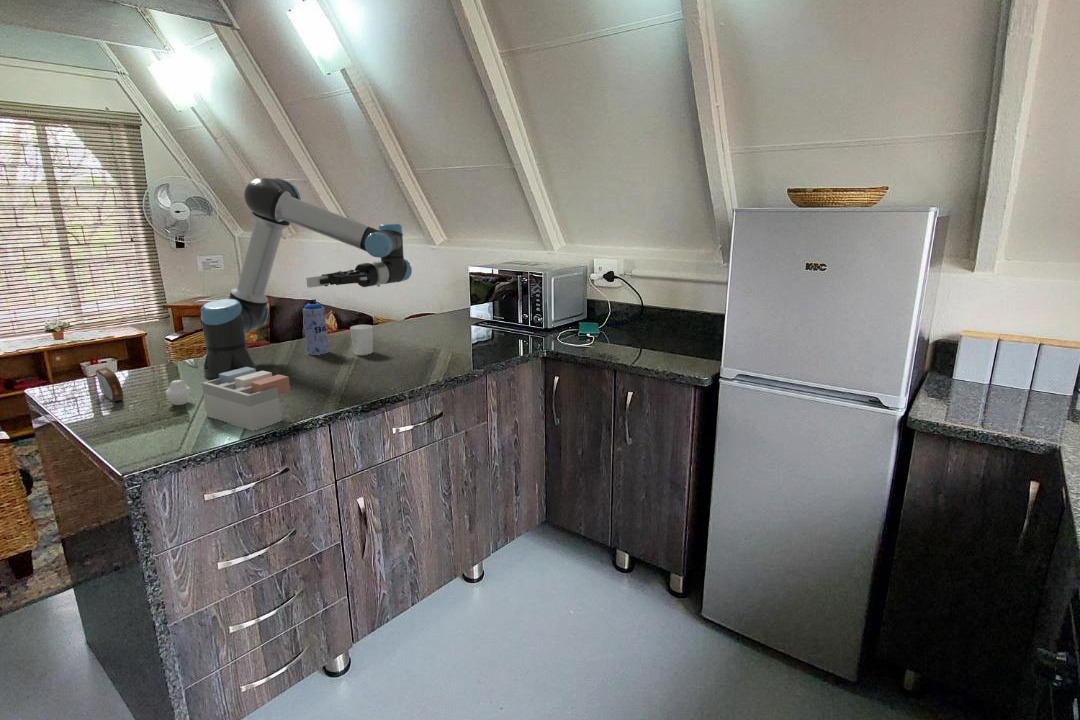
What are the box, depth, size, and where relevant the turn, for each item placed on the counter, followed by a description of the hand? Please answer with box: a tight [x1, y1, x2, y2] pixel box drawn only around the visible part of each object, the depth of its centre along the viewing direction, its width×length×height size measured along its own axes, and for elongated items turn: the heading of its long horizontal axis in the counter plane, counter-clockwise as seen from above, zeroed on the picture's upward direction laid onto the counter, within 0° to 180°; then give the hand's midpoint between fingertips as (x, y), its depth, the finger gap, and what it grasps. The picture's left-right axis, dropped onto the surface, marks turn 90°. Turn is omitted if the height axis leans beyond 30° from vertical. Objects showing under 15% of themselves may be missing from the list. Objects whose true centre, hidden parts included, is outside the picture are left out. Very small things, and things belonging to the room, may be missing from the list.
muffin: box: [165, 379, 192, 406], centre depth 164 cm, size 6×6×7 cm
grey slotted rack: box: [201, 378, 282, 432], centre depth 152 cm, size 20×8×9 cm, turn 59°
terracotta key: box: [251, 374, 291, 396], centre depth 150 cm, size 4×8×4 cm, turn 149°
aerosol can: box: [302, 298, 330, 356], centre depth 215 cm, size 8×8×20 cm
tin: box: [95, 367, 124, 403], centre depth 168 cm, size 15×3×8 cm, turn 48°
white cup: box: [349, 324, 374, 356], centre depth 216 cm, size 8×8×10 cm
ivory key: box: [234, 370, 273, 389], centre depth 154 cm, size 4×8×4 cm, turn 149°
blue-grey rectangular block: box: [219, 367, 257, 384], centre depth 157 cm, size 4×8×4 cm, turn 149°
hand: (308, 282), depth 171 cm, fingers closed
